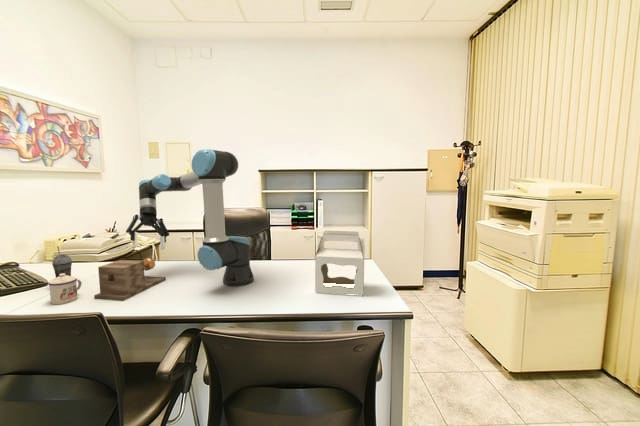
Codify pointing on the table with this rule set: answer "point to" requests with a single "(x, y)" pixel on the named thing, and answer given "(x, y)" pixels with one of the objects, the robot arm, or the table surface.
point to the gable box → (339, 263)
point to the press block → (124, 280)
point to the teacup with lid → (64, 289)
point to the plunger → (146, 264)
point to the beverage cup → (62, 264)
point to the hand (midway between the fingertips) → (149, 248)
